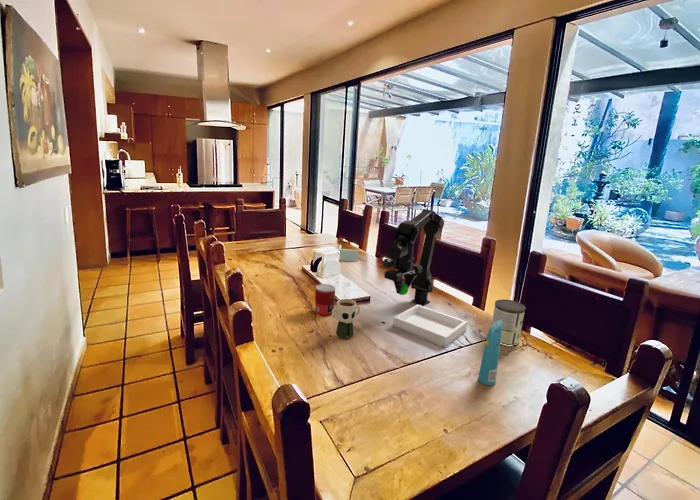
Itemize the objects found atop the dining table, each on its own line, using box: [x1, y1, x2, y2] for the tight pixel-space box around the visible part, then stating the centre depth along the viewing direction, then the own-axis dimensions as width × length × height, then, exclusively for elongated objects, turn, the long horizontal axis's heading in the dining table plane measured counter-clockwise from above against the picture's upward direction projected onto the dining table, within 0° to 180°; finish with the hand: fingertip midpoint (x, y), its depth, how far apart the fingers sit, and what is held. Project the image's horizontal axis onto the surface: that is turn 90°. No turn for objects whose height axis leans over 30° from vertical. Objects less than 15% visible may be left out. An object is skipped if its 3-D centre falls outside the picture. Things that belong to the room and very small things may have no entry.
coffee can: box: [491, 298, 526, 345], centre depth 136 cm, size 10×10×14 cm
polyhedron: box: [398, 283, 409, 296], centre depth 149 cm, size 5×5×5 cm
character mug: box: [331, 298, 361, 340], centre depth 132 cm, size 11×7×13 cm, turn 115°
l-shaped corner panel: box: [338, 244, 360, 263], centre depth 229 cm, size 12×12×8 cm
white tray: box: [392, 304, 468, 349], centre depth 142 cm, size 18×22×4 cm
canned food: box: [314, 283, 336, 317], centre depth 151 cm, size 8×8×11 cm
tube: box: [477, 319, 502, 386], centre depth 109 cm, size 7×5×19 cm, turn 140°
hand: (401, 291), depth 149 cm, fingers closed on polyhedron, 5 cm apart
